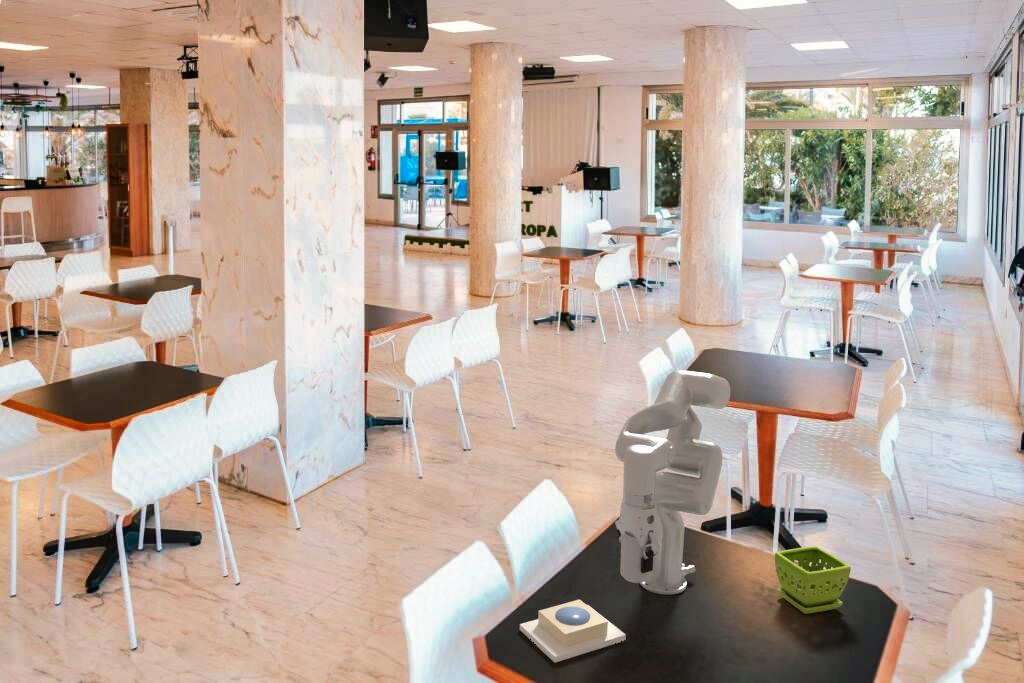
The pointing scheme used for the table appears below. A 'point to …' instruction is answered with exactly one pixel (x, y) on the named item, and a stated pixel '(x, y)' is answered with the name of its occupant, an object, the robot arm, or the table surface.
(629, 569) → the can
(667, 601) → the table surface
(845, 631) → the table surface
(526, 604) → the table surface
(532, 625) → the base
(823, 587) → the flower pot
